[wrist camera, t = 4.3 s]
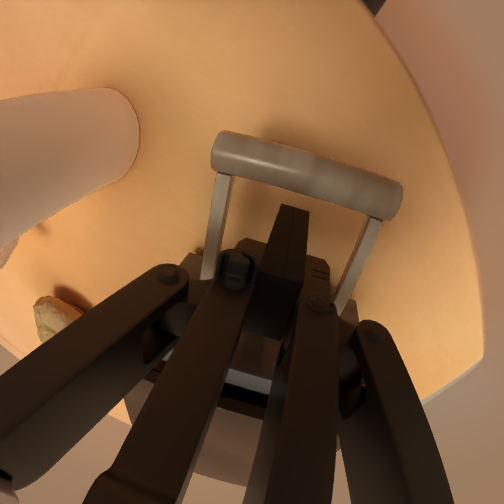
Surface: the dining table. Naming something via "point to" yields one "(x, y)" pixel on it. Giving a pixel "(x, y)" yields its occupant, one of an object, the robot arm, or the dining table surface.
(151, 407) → the robot arm
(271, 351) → the drawer
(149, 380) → the cabinet
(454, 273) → the dining table surface
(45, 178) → the cylindrical container
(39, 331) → the oil lamp
